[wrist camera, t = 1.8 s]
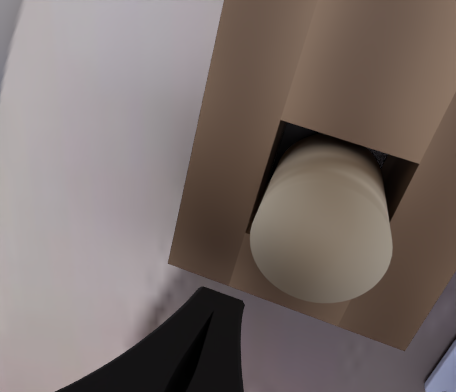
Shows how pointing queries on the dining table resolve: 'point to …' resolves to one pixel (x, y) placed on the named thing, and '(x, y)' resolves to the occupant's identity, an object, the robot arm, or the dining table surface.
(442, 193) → the walnut block
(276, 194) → the peg
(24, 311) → the dining table surface
